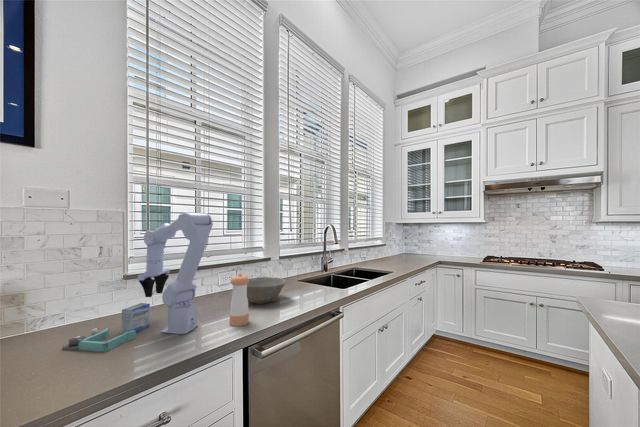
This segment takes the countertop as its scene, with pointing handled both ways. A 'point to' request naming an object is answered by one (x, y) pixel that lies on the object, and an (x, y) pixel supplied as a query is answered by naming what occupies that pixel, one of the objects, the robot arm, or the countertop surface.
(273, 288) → the ceramic bowl
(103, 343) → the chassis
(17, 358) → the countertop surface
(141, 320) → the medicine box
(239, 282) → the salt shaker
